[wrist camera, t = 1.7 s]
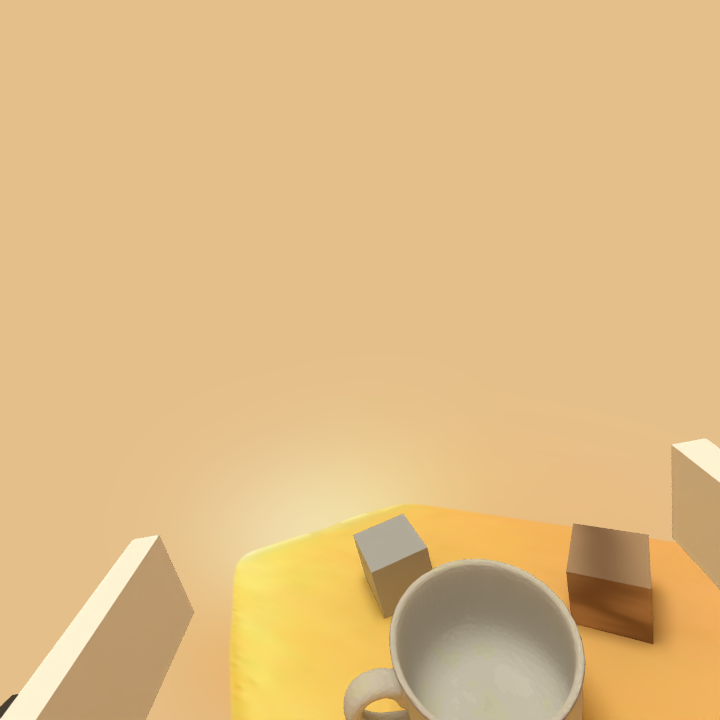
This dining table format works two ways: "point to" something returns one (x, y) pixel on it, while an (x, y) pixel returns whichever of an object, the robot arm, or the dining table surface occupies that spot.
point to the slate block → (392, 560)
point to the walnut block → (610, 581)
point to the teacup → (477, 650)
